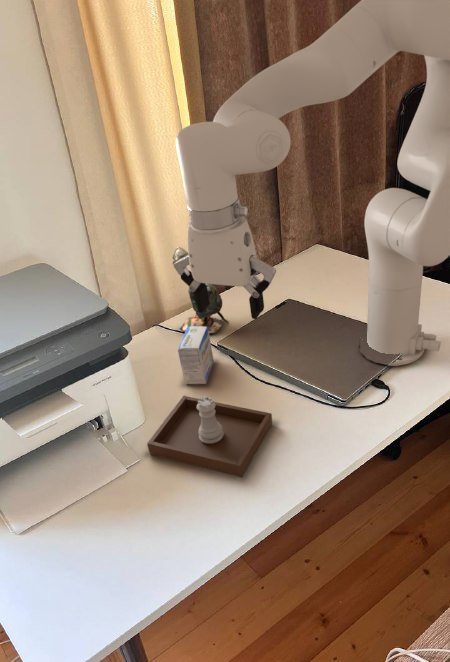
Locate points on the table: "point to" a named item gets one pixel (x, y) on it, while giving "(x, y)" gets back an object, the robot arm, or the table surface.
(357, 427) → the table surface
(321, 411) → the table surface
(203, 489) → the table surface
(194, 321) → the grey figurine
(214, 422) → the rook chess piece
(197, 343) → the medicine box
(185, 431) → the tray
